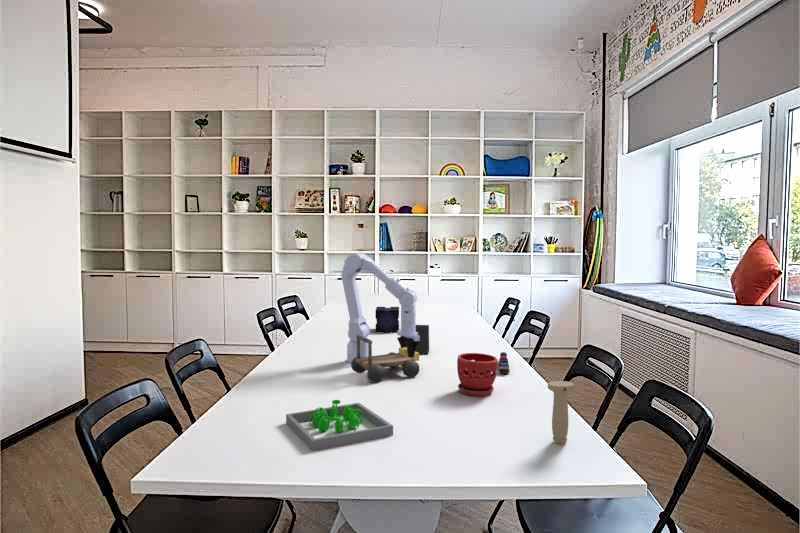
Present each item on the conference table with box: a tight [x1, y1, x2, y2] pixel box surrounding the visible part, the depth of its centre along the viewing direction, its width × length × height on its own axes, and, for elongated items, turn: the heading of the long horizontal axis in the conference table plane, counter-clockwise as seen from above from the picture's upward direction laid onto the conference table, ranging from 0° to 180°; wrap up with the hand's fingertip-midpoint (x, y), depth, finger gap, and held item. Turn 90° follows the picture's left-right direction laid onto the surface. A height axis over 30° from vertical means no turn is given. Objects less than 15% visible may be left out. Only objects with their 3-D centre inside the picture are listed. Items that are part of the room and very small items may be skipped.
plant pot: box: [456, 352, 499, 397], centre depth 183 cm, size 13×13×12 cm
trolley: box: [350, 335, 420, 383], centre depth 205 cm, size 16×20×15 cm
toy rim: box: [285, 402, 394, 452], centre depth 150 cm, size 22×22×2 cm
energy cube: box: [375, 306, 400, 333], centre depth 294 cm, size 12×12×12 cm
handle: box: [547, 380, 575, 445], centre depth 140 cm, size 5×6×15 cm
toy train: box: [498, 351, 510, 375], centre depth 216 cm, size 4×22×5 cm, turn 171°
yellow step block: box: [398, 347, 420, 362], centre depth 218 cm, size 4×7×5 cm, turn 118°
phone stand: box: [415, 324, 430, 356], centre depth 243 cm, size 9×6×12 cm, turn 173°
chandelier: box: [308, 399, 364, 434], centre depth 153 cm, size 15×15×7 cm
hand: (408, 356), depth 218 cm, fingers closed on yellow step block, 4 cm apart
